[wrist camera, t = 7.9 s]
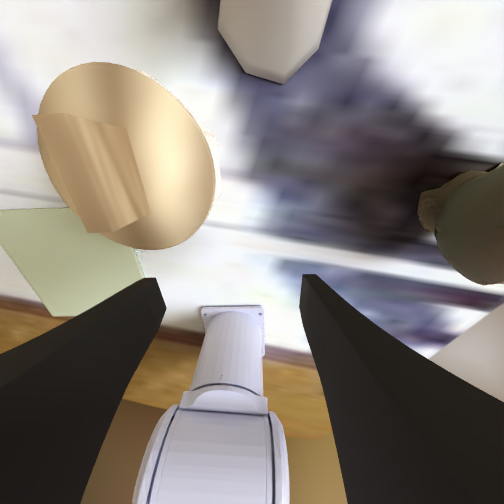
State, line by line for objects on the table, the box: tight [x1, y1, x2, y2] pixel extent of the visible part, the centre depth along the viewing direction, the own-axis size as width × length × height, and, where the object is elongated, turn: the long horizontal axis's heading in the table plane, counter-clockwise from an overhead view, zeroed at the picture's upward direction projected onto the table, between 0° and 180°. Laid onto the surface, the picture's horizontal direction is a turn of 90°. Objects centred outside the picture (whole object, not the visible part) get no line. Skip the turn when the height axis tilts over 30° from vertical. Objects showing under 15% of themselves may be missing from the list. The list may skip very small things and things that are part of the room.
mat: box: [0, 207, 145, 316], centre depth 21 cm, size 14×14×1 cm
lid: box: [32, 62, 216, 250], centre depth 11 cm, size 11×11×5 cm
